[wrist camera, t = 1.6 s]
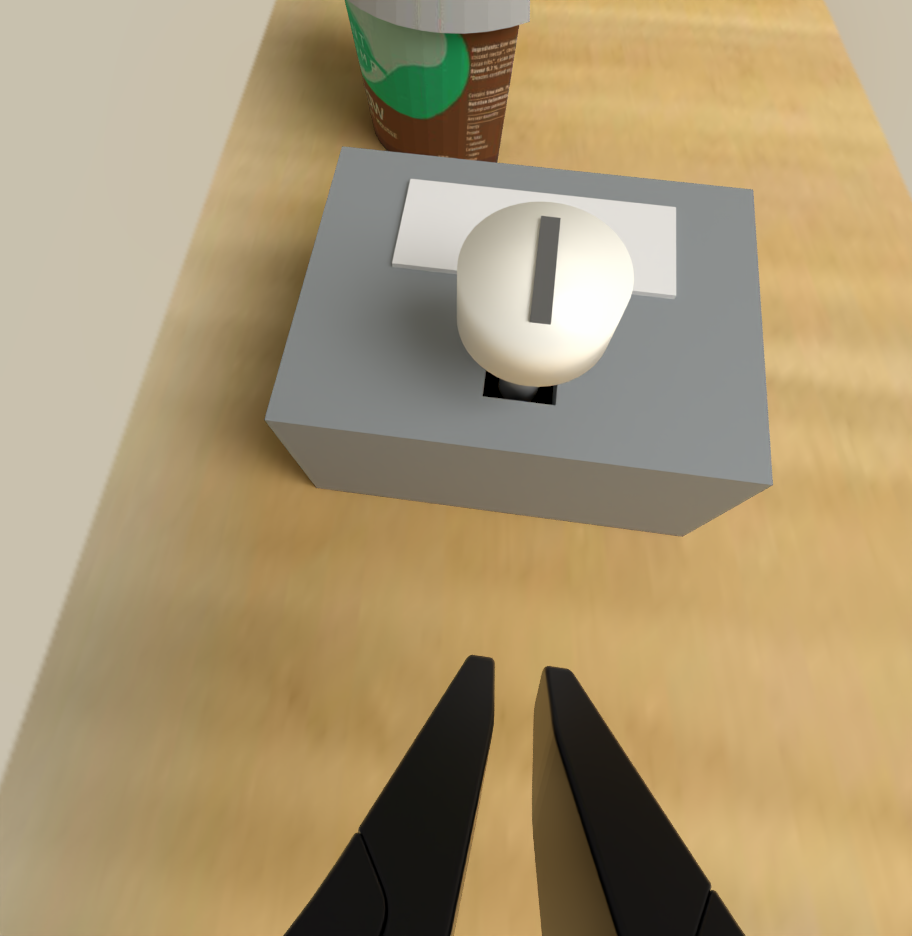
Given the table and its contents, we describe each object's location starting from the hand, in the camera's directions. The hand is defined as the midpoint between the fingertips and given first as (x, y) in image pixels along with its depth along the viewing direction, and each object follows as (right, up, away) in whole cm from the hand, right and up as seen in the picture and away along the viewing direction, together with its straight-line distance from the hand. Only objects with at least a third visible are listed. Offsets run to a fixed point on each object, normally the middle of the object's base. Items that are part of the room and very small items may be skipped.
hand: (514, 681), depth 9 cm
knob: (+1, +6, +11) cm, 12 cm away
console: (+2, +7, +17) cm, 19 cm away
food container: (-4, +23, +23) cm, 33 cm away
